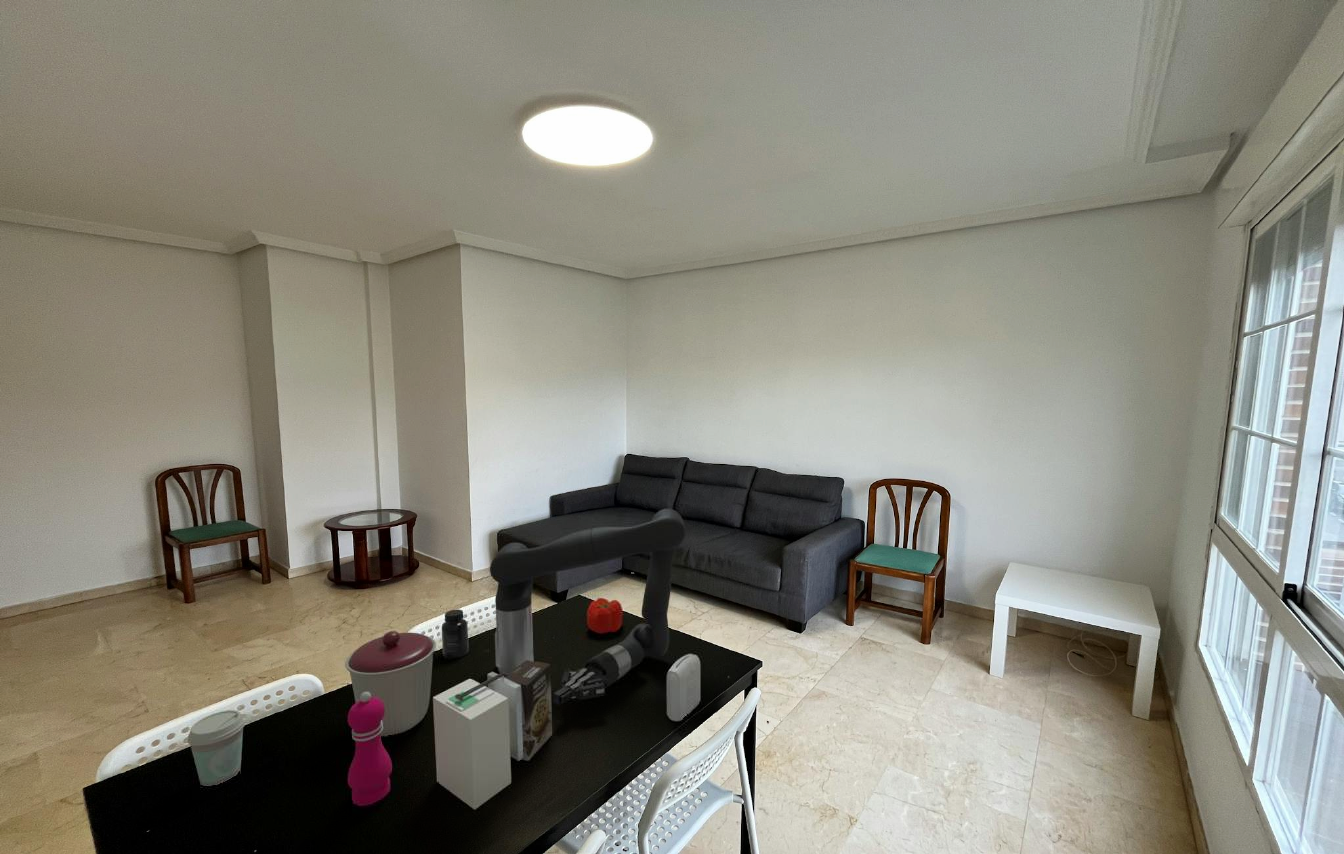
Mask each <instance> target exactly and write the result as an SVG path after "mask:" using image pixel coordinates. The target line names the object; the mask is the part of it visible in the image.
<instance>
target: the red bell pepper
mask: <svg viewBox="0 0 1344 854" xmlns="http://www.w3.org/2000/svg"><path fill="white" fill-rule="evenodd" d="M586 612H587V615H586V621H587V627H588V628H589V630H591V631H593V632H594V633H597V634H607V633H615V632H617V631H619V629H621V627H622V624H623V615H624V613H623V607H622V604H621V603H620V602H619V600H617V599H613V600H611V601H609V600H608V599H606V598H603V597H599V598H597V599H596V600H593V601H592V602H590V605H589V606H588V608H587V611H586Z"/></svg>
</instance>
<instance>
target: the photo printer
mask: <svg viewBox="0 0 1344 854" xmlns="http://www.w3.org/2000/svg"><path fill="white" fill-rule="evenodd" d="M699 702H700V703H701V661H700V658H699V656H698V655H696V654H693V653H688V654H685V655H683V656H681V657H679V659H677V660H676V661H675V662H674V663H673V664H672V666H671V667H670V668H669V670H668V672H667V673H666V715H667V717H668V718H669V720H671V721H673V722H680V721H682V720H684V719H685V718H686V717H688V715H690V714H691V712H692V711H693V710H694V709H696V708H697V706H698V705H699V704H700V703H699ZM687 714H688V715H687ZM685 716H686V717H685ZM684 717H685V718H684ZM683 718H684V719H683Z"/></svg>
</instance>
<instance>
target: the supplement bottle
mask: <svg viewBox="0 0 1344 854" xmlns="http://www.w3.org/2000/svg"><path fill="white" fill-rule="evenodd" d="M441 643H442V646H441V647H442V655H443V657H444V658H445V659H447V658H448V659H449V660H454V659H455V658H456V659H459V657H460V658H463V657H465V656H466V655H467V653H469V650H470V649H469V630H468V621H467V620H466V619H464V611H463V609H458V608H457V609H451V610H450V609H449V611H448V610H447V611H446V612H445V613H444V622H443V624H442V625H441ZM456 659H455V660H456Z"/></svg>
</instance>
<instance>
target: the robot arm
mask: <svg viewBox="0 0 1344 854" xmlns="http://www.w3.org/2000/svg"><path fill="white" fill-rule="evenodd" d="M686 533H687V532H686V526H685V522H684V520H683V517H682V516H681V514H679V512H678V511H676V510H674V509H672V508H663V509H661V510H659V511H658V512H656V513H655V514H654V516H652V519H651V521H649V522H644V523H641V524H638V525H633V526H626V527H624V526H623V527H622V526H621V527H619V526H618V527H617V526H601V527H600V526H599V527H593V528H588V529H585V530H579V531H576V532H571V533H570V534H567V535H565V536H562V537H560V538H557V539H556V540H554V541H552V542H549V543H546V544H544V545H542V546H537V547H531V548H528V547H527V546H526V545H525V544H523V543H520V542H510V543H507V544H505V545H504V546H503V547H501V549H500V550H499V551H498V552H497V553H496V555H495V556H494V557H493V559H492V561H491V564H490V566H489V573H490V576H491V577H492V579H493V580H494V581H495V582H496V583H497V590H496V594H495V599H494V600H495V601H494V602H495V603H494V604H495V623H496V624H495V625H496V629H495V630H496V631H495V632H494V644H495V645H494V647H495V648H494V649H495V667H497V670H498V672H499V674H500V673H502V674H503V676H507V675H509V674H510V673H511V672H512V671H514V670H515V669H516V668H517V667H518V666H520V665H521V664H522V663H523V662H525V661H526V660H528V661H533V662H534V639H533V637H534V636H533V612H532V611H533V610H532V609H533V607H532V606H533V605H532V596H533V594H532V593H533V586H534V583H533V582H534V581H533V580H534V579H533V578H537V577H540V576H544V575H547V574H552V573H556V572H557V573H558V572H562V571H568V570H572V569H577V568H584V567H589V566H592V565H598V564H600V563H601V564H602V563H606V562H608V561H609V562H610V561H613V560H617V559H618V560H619V559H621V558H625V557H630V556H632V555H636V554H644V553H650V561H649V568H648V572H647V576H646V577H647V578H646V582H645V587H644V592H643V597H642V606H641V616H642V618H643V619H644V620H645V621H646V622H647V623H646V622H645V623H639V624H637V625H636V626H634V628H632V630H631V631H630V633H628V635H627V636H626V637H625V638H624V639H623V640H622V641H620V642H618V643H617V644H615V645H613V646H611V647H608V648H607V649H605V650H603V651H601V652H599V653H598V654H596V655H595V656H593V657H591V658H590V659H589V660H588V661H587V662H586V664H585V665H584V667H581V668H578V669H576V671H571V669H570V668H565V670H564V672H563V676H562V679H561V688H560V689H558V690H557V691H555V692H554V693H553V703H555V704H557V705H558V706H559V705H562V704H564V703H565V702H567V701H569V700H570V699H575V698H577V699H578V700H581V701H582V700H587V699H593V698H599V697H602V696H603V697H604V696H605V689H606V688H607V687H609V686H610V685H613V683H615V682H616V681H618V680H620V678H622V677H623V676H625V675H626V674H627V673H628V672H629V671H631V670H632V669H634V668H635V667H636V666H638V665H640V664H641V662H642V661H643V659H644V655H648V656H650V657H651V658H654V659H660V658H662V657H664V656H665V654H666V653H667V651H668V650H669V646H670V630H669V621H668V611H669V610H668V609H669V605H670V598H671V591H672V575H673V563H674V556H675V552H676V548H678V547H679V546H680V545H682V543H683V542H684V540H685V537H686Z"/></svg>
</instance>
